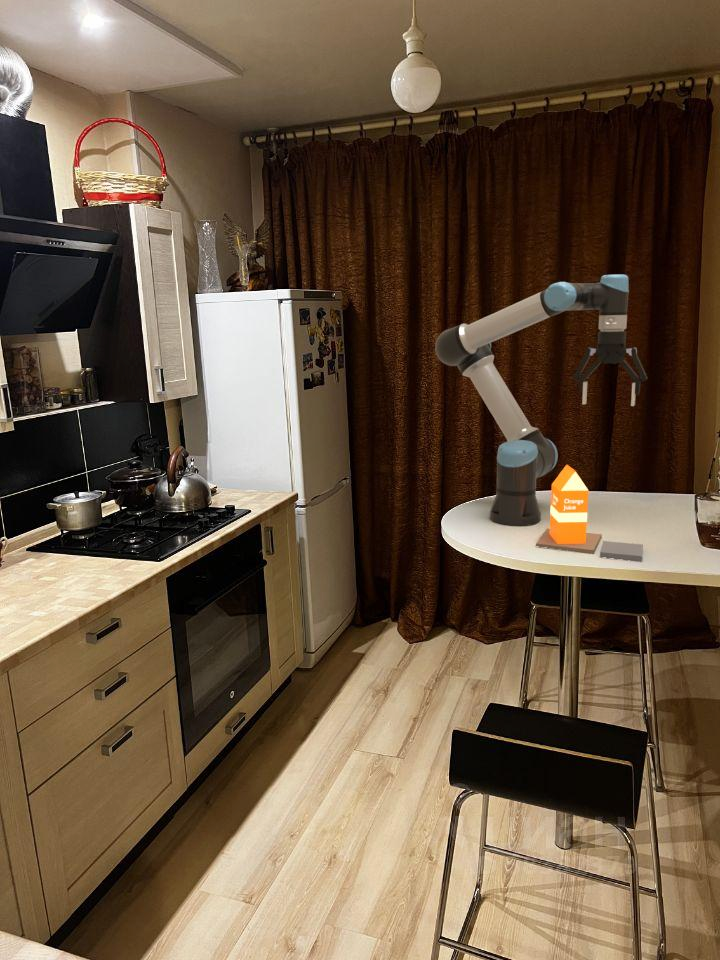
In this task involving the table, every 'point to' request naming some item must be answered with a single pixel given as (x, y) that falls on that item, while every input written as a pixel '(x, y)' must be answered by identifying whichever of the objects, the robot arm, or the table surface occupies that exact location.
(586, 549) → the cork mat
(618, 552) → the tile
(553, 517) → the orange juice
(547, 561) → the table surface
